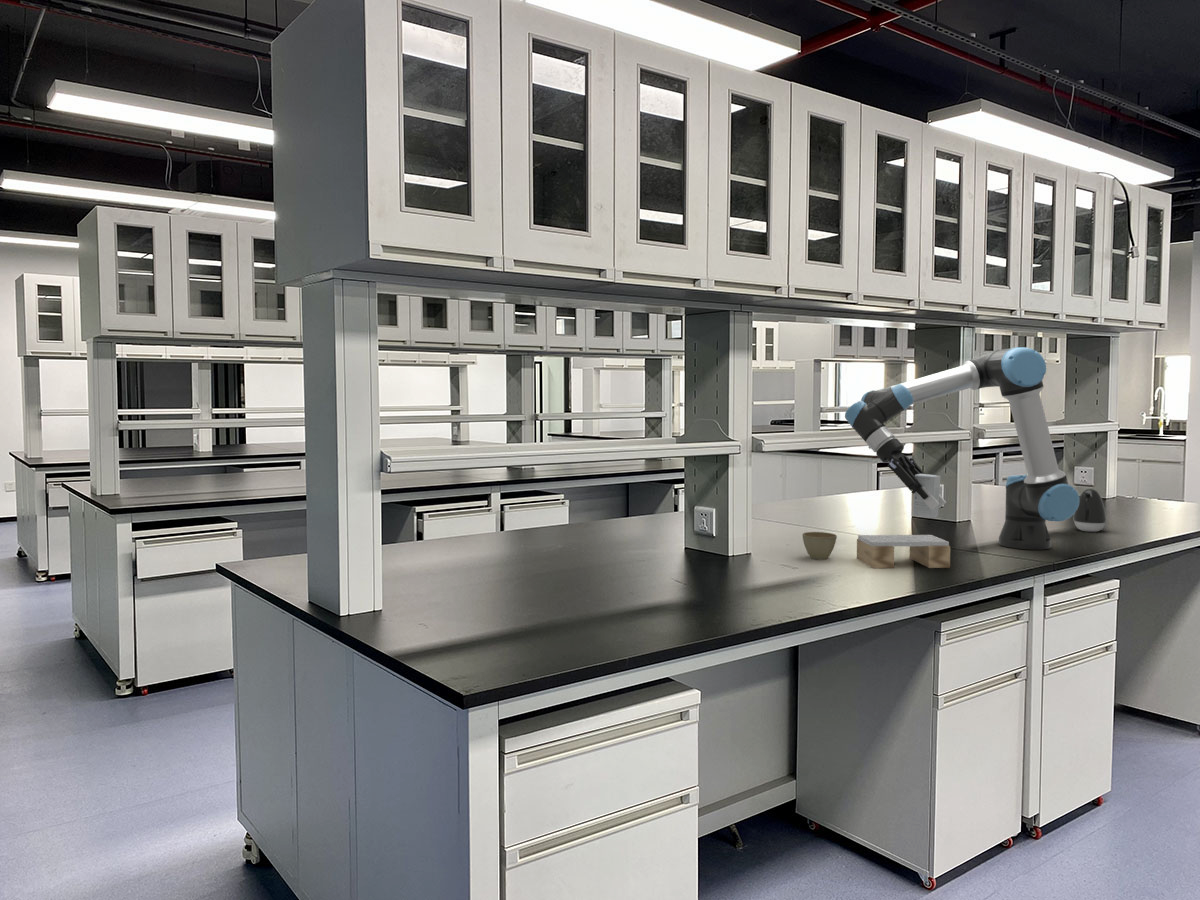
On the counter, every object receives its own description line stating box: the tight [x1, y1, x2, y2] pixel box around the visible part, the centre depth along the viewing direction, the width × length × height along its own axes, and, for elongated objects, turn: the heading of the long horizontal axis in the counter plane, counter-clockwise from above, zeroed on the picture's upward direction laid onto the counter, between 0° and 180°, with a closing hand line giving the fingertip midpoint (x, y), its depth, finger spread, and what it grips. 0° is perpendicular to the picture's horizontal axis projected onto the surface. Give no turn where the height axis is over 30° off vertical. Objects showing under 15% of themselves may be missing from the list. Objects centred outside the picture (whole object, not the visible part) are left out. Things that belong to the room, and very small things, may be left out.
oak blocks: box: [856, 538, 951, 569], centre depth 241 cm, size 22×14×6 cm, turn 91°
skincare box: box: [912, 473, 941, 519], centre depth 239 cm, size 6×4×12 cm
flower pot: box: [802, 531, 838, 561], centre depth 249 cm, size 10×10×7 cm
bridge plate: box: [857, 534, 950, 547], centre depth 241 cm, size 22×12×1 cm, turn 91°
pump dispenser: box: [1072, 488, 1107, 533], centre depth 298 cm, size 10×10×15 cm
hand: (939, 506), depth 236 cm, fingers closed on skincare box, 4 cm apart
